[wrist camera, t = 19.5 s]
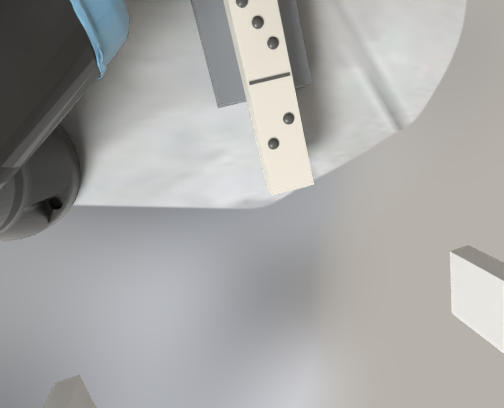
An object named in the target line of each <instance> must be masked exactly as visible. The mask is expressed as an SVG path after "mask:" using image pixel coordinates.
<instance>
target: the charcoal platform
mask: <svg viewBox="0 0 504 408" xmlns="http://www.w3.org/2000/svg"><path fill="white" fill-rule="evenodd" d="M277 2H278V7H279V12H280V17H281V22H282V27H283V32H284V37H285V42H286V47H287V52H288V57H289V62H290V67H291V72H292V77H293V82H294V87H295V89H299V88H302V87H304V86H306V85H308V84H310V83H312V81H311V75H310V70H309V65H308V60H307V54H306V49H305V44H304V39H303V33H302V28H301V23H300V18H299V12H298V7H297V2H296V0H277ZM191 3H192V7H193V11H194V15H195V19H196V23H197V27H198V31H199V35H200V39H201V43H202V46H203V50H204V54H205V58H206V62H207V66H208V70H209V74H210V78H211V82H212V86H213V89H214V93H215V97H216V101H217V105H218V108H220V107H224V106H229V105H233V104H237V103H241V102H245V101H247V100H246V96H245V92H244V87H243V83H242V79H241V74H240V70H239V66H238V62H237V57H236V53H235V49H234V44H233V40H232V36H231V31H230V27H229V23H228V18H227V14H226V10H225V6H224V1H223V0H191Z"/></svg>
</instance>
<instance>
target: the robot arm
mask: <svg viewBox="0 0 504 408" xmlns="http://www.w3.org/2000/svg"><path fill="white" fill-rule="evenodd" d="M128 33H129V14H128V10H127V7H126V4H125V2H124V0H0V241H13V240H19V239H23V238H26V237H30V236H32V235H35V234H37V233H39V232H41V231H43V230H45V229H47V228H48V227H50V226H51V225H53V224H55V223H56V222H57V221H59V220H60V219H61V218H62V217H63V216H64V215H65V214H66V213H67V211H68V210H69V209H70V207H71V206H72V204H73V202H74V200H75V198H76V195H77V193H78V189H79V184H80V166H79V160H78V156H77V153H76V150H75V148H74V146H73V144H72V142H71V140H70V138H69V137H68V135H67V134H66V132H65V131H64V130H63V129H62V127H61V126H60V125H59V123H60V122H61V121H62V119H63V118H64V117H65V116H66V115H67V114H68V112H69V111H70V110H71V109H72V108H73V106H74V105H75V104H76V103H77V102H78V101H79V99H80V98H81V97H82V96H83V95H84V93H85V92H86V91H87V90H88V89H89V87H90V86H91V85H92V84H93V83H94V82H95V80H96V79H97V80H99V79H101V78H102V77H103V76H104V73H105V71H106V66H107V65H108V64H109V62H110V61H111V60H112V58H113V57H114V56H115V54H116V53H117V52H118V50H119V49H120V48H121V46H122V45H123V44H124V42H125V41H126V39H127V36H128ZM450 271H451V302H452V314H453V315H455V316H456V317H457V318H458V319H460V320H461V321H463V322H464V323H465V324H466V325H468V326H469V327H470V328H471V329H473V330H474V331H475V332H477V333H478V334H479V335H481V336H482V337H483V338H484V339H486V340H487V341H488V342H490V343H491V344H492V345H494V346H495V347H496V348H497V349H499V350H500V351H501V352H503V353H504V263H503V262H501V261H499V260H497V259H495V258H493V257H491V256H489V255H487V254H485V253H483V252H481V251H479V250H477V249H475V248H473V247H471V246H465V247H462V248H459V249H456V250H453V251H450ZM44 408H96V406H95V404H94V402H93V400H92V398H91V396H90V394H89V392H88V391H87V388H86V386H85V384H84V383H83V381H82V379H81V377H80V375H78V376H75V377H72V378H69V379H66V380H63V381H60V382H57V383H54V385H53V387H52V389H51V392H50V394H49V396H48V399H47V402H46V403H45V406H44Z"/></svg>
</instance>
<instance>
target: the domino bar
mask: <svg viewBox="0 0 504 408" xmlns="http://www.w3.org/2000/svg"><path fill="white" fill-rule="evenodd" d="M223 1H224V6H225V10H226V14H227V18H228V23H229V27H230V31H231V36H232V40H233V44H234V49H235V53H236V57H237V62H238V66H239V70H240V74H241V79H242V83H243V87H244V92H245V96H246V100H247V105H248V109H249V113H250V118H251V122H252V126H253V130H254V135H255V139H256V143H257V148H258V152H259V156H260V161H261V165H262V169H263V173H264V178H265V182H266V186H267V191H268V192H270V193H271V194H272V195H276V194H280V193H284V192H287V191H291V190H295V189H299V188H302V187H306V186H310V185H314V183H313V178H312V173H311V167H310V162H309V157H308V152H307V147H306V142H305V137H304V132H303V127H302V122H301V117H300V112H299V107H298V102H297V97H296V92H295V87H294V82H293V77H292V72H291V67H290V62H289V57H288V52H287V47H286V42H285V37H284V32H283V27H282V22H281V17H280V12H279V7H278V2H277V0H223Z"/></svg>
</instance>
